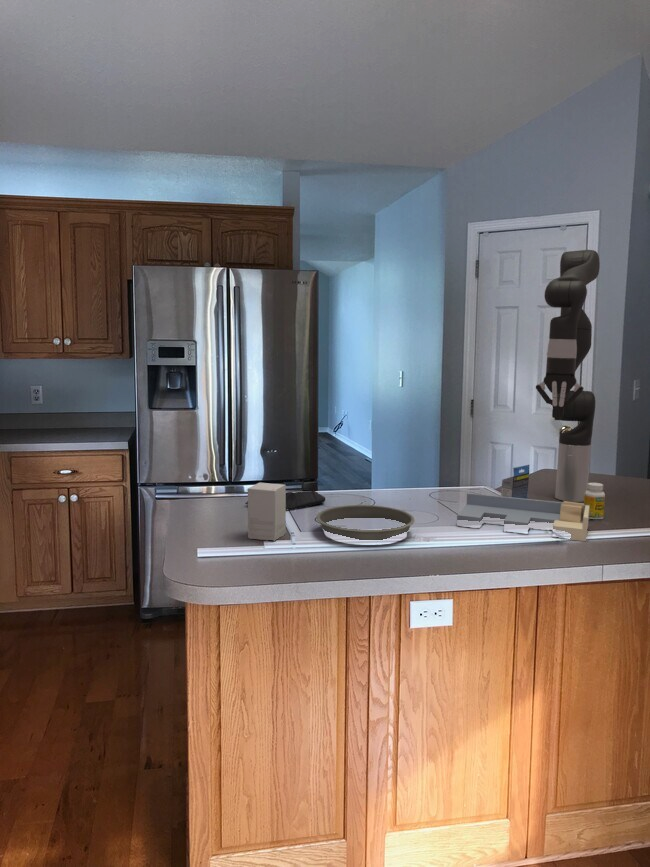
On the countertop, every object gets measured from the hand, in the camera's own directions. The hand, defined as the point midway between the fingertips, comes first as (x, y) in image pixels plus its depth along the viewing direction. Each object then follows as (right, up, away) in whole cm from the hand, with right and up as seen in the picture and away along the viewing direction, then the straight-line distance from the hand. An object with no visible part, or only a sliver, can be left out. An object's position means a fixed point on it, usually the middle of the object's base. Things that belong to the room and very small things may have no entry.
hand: (557, 419), depth 202 cm
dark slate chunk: (-75, -25, +12) cm, 79 cm away
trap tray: (-12, -28, -8) cm, 31 cm away
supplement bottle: (+11, -27, +3) cm, 29 cm away
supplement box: (-78, -29, -21) cm, 85 cm away
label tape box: (-8, -25, +14) cm, 30 cm away
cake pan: (-53, -29, -16) cm, 63 cm away
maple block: (0, -26, -11) cm, 28 cm away
